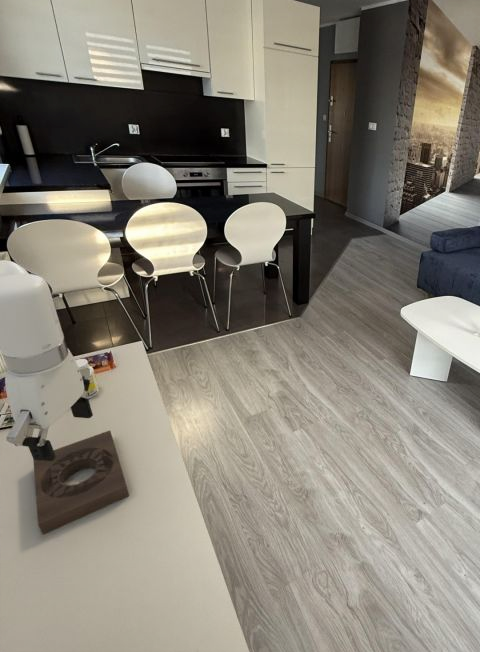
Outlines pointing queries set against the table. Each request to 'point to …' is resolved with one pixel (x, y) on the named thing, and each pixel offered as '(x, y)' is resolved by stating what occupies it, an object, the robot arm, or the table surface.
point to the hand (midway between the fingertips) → (65, 436)
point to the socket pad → (83, 498)
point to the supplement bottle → (93, 385)
